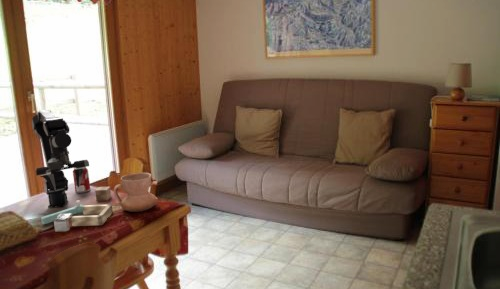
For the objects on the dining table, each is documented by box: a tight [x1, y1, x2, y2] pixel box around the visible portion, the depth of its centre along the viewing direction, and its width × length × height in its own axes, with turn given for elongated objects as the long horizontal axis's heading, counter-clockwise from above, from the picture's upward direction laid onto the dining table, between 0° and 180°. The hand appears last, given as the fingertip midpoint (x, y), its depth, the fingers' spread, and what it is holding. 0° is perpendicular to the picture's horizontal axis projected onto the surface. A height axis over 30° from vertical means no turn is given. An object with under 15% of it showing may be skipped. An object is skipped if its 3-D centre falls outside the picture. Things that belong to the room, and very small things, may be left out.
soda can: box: [72, 167, 91, 194], centre depth 201 cm, size 7×7×12 cm
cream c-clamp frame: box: [70, 203, 114, 227], centre depth 167 cm, size 12×13×4 cm
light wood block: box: [94, 186, 112, 202], centre depth 190 cm, size 5×5×5 cm
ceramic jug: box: [113, 172, 158, 213], centre depth 176 cm, size 18×14×14 cm
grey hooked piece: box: [53, 212, 84, 232], centre depth 166 cm, size 5×20×5 cm, turn 0°
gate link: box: [40, 199, 84, 225], centre depth 169 cm, size 17×4×5 cm, turn 140°
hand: (66, 189), depth 165 cm, fingers open, 9 cm apart
